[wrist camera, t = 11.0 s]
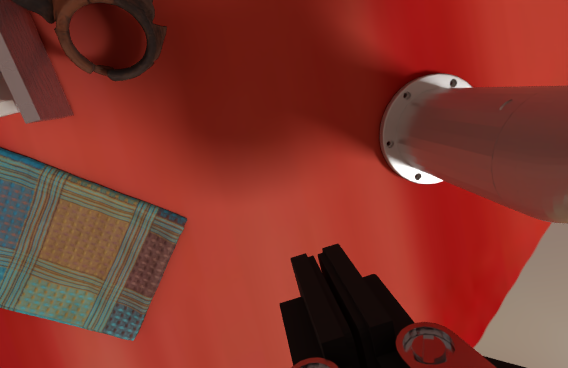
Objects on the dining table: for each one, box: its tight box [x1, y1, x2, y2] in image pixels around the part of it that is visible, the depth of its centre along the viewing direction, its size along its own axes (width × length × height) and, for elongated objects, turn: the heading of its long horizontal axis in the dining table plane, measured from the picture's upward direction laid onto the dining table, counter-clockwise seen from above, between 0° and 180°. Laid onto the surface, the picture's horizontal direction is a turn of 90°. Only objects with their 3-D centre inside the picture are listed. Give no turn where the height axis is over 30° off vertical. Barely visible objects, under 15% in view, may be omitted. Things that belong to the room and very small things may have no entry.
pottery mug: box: [11, 0, 167, 81], centre depth 29 cm, size 12×9×8 cm
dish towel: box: [0, 148, 187, 341], centre depth 36 cm, size 17×23×2 cm
